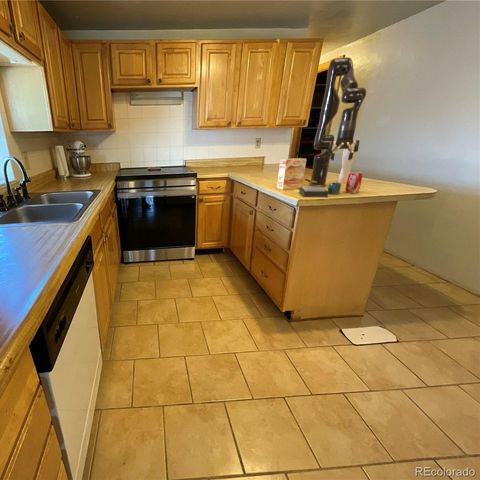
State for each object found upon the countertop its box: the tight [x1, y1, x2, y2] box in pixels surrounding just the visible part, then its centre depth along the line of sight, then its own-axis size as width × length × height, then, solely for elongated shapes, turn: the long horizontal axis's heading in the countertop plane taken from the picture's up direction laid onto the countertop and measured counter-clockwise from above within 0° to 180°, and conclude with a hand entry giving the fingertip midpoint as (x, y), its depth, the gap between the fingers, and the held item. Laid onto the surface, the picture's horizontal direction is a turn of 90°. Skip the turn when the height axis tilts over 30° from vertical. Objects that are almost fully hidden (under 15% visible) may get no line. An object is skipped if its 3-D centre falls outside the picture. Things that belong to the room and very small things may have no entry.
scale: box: [299, 187, 329, 198], centre depth 160 cm, size 14×13×3 cm
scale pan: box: [302, 185, 327, 191], centre depth 159 cm, size 10×10×2 cm
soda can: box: [344, 171, 363, 194], centre depth 159 cm, size 7×7×12 cm
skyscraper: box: [337, 143, 357, 184], centre depth 188 cm, size 8×8×28 cm
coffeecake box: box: [276, 157, 307, 191], centre depth 177 cm, size 15×7×20 cm, turn 101°
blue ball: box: [327, 182, 342, 195], centre depth 160 cm, size 6×6×6 cm
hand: (340, 160), depth 151 cm, fingers open, 8 cm apart
